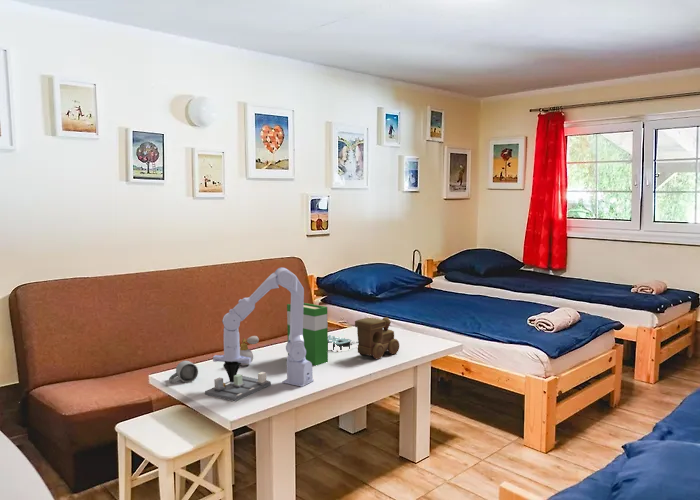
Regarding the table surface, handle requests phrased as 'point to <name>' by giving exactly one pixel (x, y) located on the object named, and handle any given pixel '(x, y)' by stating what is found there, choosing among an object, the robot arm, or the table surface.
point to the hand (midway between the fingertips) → (232, 381)
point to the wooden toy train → (375, 337)
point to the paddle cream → (262, 378)
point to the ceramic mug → (185, 372)
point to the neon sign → (339, 342)
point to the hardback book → (313, 332)
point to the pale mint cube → (238, 381)
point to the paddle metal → (218, 384)
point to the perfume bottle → (244, 349)
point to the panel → (237, 389)
